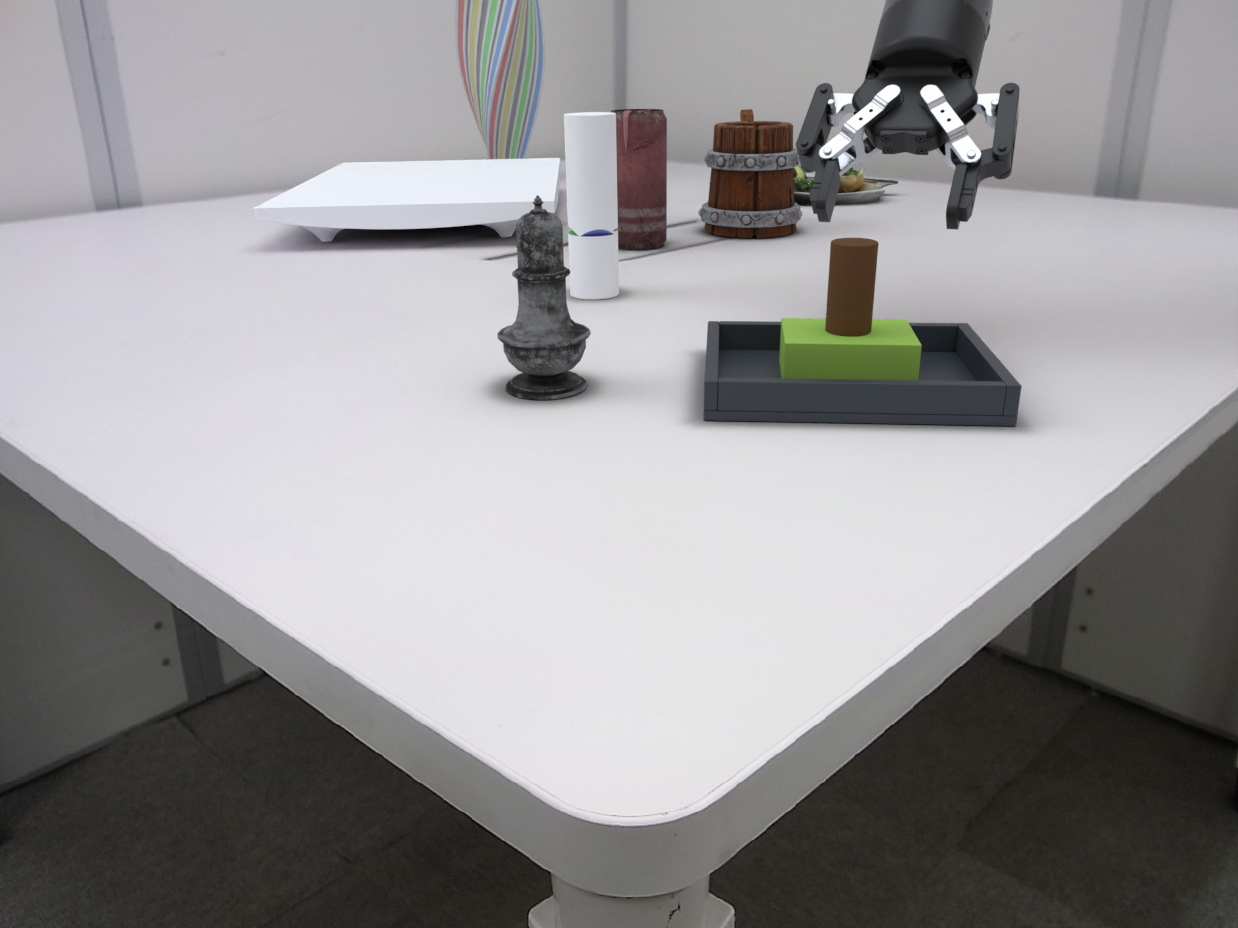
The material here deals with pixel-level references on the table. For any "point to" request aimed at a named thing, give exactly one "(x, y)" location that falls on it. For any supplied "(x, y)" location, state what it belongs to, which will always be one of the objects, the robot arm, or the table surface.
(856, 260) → the green block brown handle
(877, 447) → the table surface
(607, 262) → the tube
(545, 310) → the salt shaker
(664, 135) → the can
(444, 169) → the board
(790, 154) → the mug
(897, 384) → the tray
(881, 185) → the salad plate
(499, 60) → the vase
